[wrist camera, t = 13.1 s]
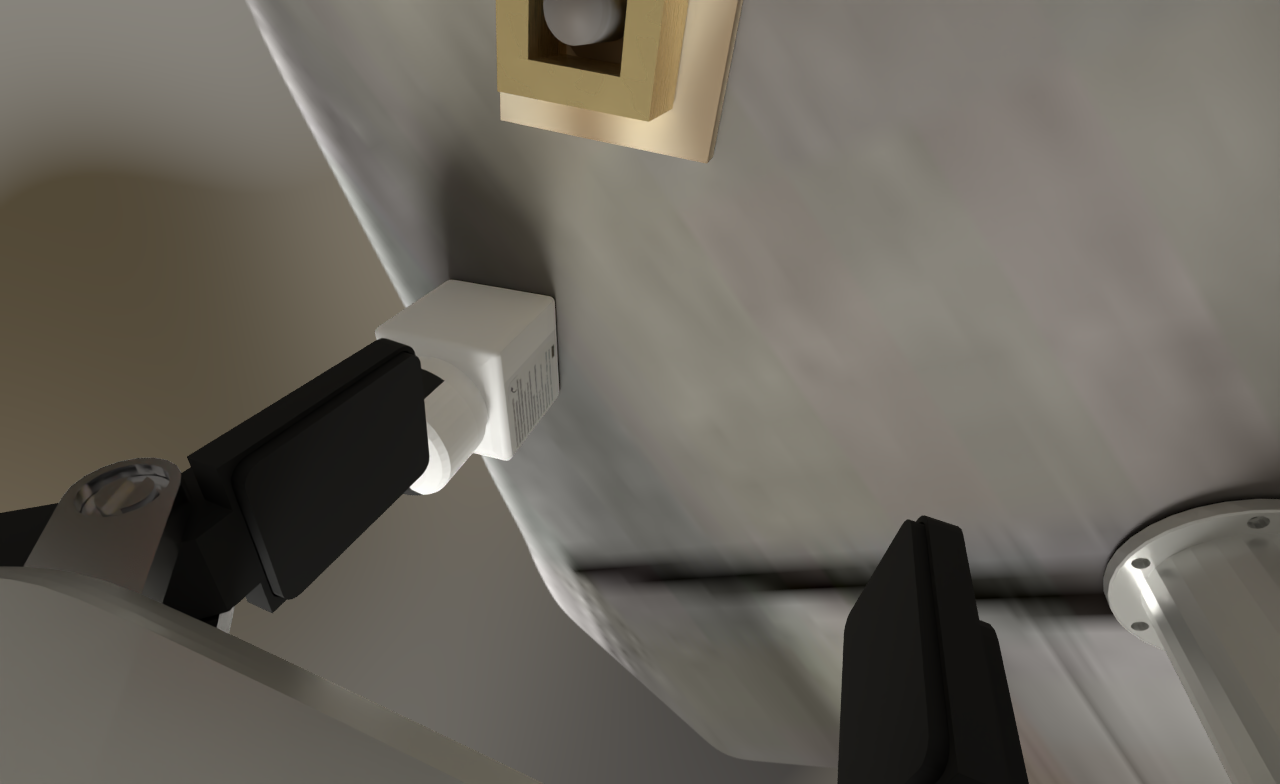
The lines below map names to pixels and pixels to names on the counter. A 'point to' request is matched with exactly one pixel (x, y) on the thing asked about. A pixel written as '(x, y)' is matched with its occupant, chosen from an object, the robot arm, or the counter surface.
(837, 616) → the counter surface
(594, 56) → the post stand
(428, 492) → the container
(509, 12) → the collar
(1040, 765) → the counter surface
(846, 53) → the counter surface
